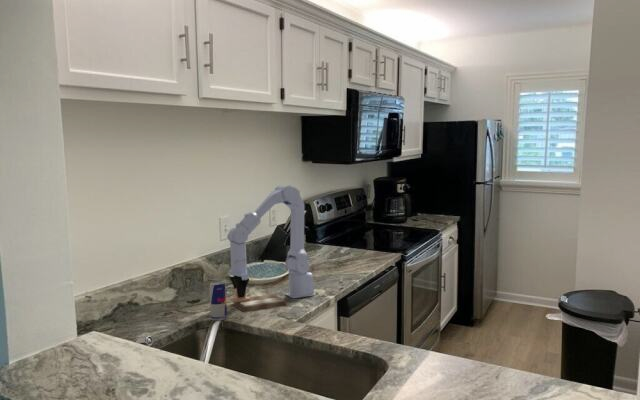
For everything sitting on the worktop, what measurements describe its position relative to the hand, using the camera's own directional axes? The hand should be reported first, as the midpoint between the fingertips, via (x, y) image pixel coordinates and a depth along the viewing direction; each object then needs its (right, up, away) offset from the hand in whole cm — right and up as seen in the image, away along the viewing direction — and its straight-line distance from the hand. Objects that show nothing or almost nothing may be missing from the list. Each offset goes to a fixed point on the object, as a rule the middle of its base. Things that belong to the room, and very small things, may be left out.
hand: (240, 296), depth 182 cm
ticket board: (+7, -3, 0) cm, 8 cm away
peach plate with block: (0, -1, 0) cm, 1 cm away
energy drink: (-4, -4, -18) cm, 19 cm away
